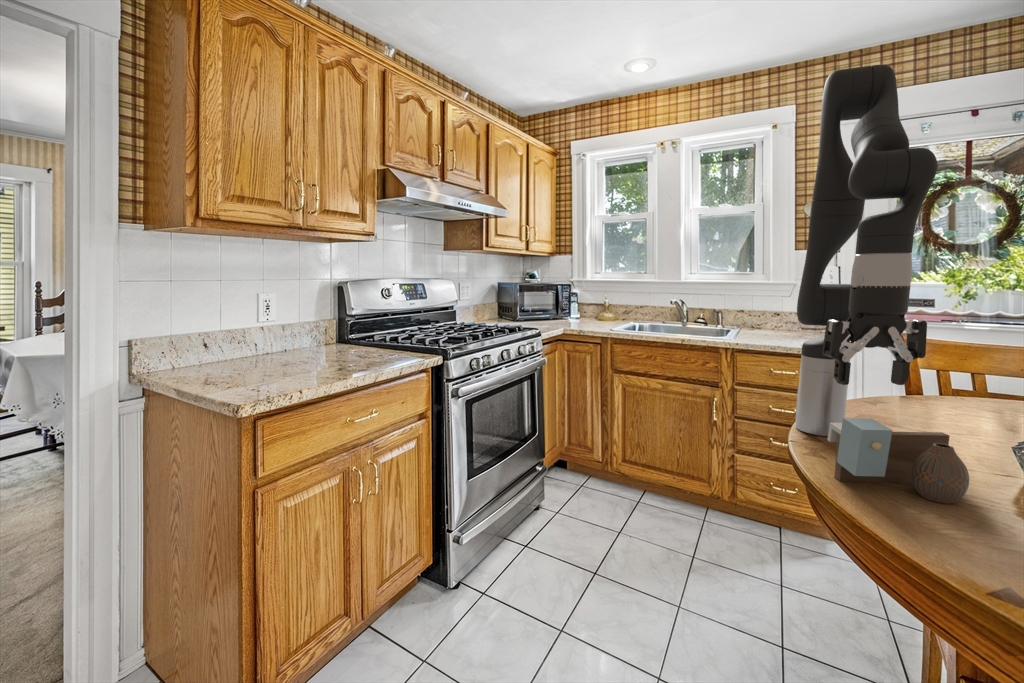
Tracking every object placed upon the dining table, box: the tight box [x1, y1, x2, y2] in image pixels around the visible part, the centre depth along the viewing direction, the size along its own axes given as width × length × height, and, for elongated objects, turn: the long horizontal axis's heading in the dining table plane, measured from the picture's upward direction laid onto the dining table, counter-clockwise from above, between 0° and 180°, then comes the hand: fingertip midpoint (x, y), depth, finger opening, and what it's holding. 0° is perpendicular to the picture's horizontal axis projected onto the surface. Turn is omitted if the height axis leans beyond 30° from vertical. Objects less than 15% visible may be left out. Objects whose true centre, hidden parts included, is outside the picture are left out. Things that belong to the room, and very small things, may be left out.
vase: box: [911, 443, 970, 504], centre depth 76 cm, size 7×7×9 cm
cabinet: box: [827, 417, 893, 477], centre depth 81 cm, size 9×5×8 cm, turn 176°
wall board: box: [833, 431, 950, 484], centre depth 83 cm, size 2×17×8 cm, turn 86°
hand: (869, 383), depth 78 cm, fingers open, 8 cm apart
